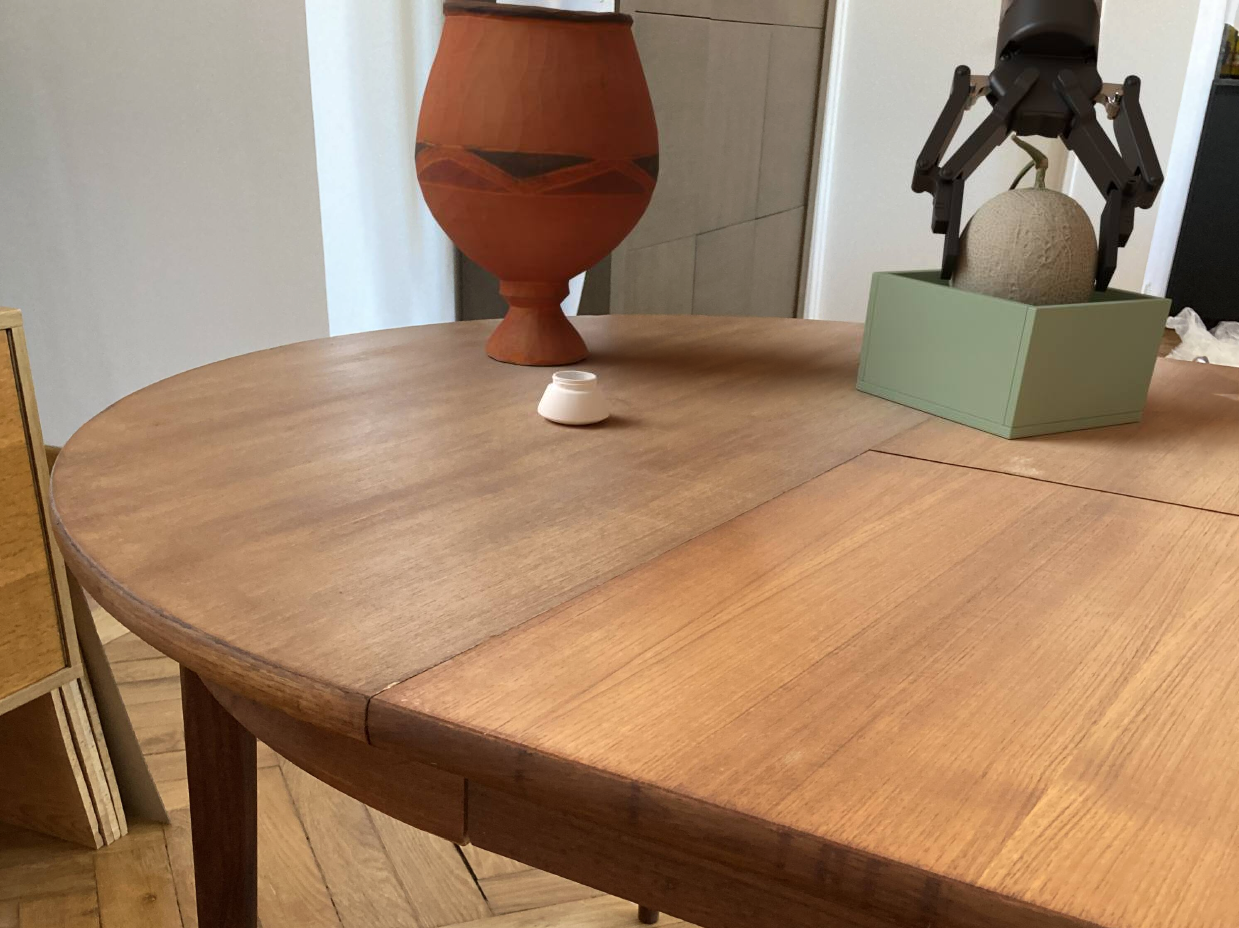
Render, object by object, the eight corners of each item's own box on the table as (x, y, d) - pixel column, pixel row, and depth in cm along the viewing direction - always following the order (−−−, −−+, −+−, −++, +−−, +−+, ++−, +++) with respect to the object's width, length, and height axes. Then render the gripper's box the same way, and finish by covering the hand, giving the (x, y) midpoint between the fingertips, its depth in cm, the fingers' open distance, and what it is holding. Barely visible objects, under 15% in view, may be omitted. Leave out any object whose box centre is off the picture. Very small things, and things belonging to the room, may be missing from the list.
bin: (1140, 421, 97) (1172, 299, 92) (1009, 439, 90) (1036, 308, 85) (982, 376, 108) (1003, 266, 104) (855, 389, 101) (872, 271, 97)
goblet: (395, 370, 99) (379, -8, 86) (450, 327, 115) (444, 4, 102) (635, 388, 98) (656, 6, 84) (656, 342, 114) (676, 16, 101)
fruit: (1041, 341, 102) (1087, 132, 94) (1097, 372, 93) (1153, 142, 85) (917, 336, 101) (953, 124, 93) (960, 366, 92) (1004, 134, 84)
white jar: (577, 407, 91) (523, 415, 88) (578, 365, 90) (524, 372, 87) (623, 421, 88) (569, 431, 85) (625, 378, 87) (570, 386, 84)
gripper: (1186, 75, 99) (1171, 318, 94) (891, 58, 101) (862, 294, 96) (1223, -10, 91) (1209, 250, 86) (904, -25, 94) (873, 225, 89)
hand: (1026, 273), depth 91 cm, fingers closed on fruit, 10 cm apart
